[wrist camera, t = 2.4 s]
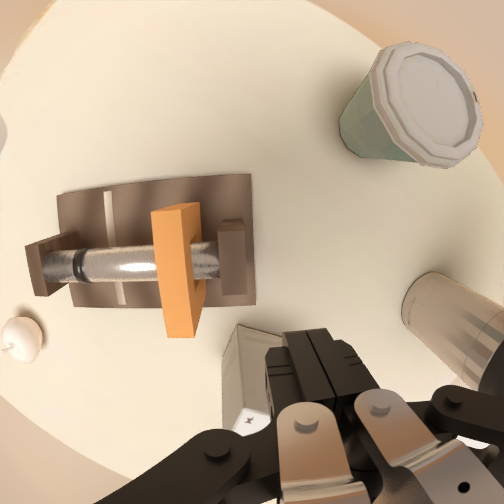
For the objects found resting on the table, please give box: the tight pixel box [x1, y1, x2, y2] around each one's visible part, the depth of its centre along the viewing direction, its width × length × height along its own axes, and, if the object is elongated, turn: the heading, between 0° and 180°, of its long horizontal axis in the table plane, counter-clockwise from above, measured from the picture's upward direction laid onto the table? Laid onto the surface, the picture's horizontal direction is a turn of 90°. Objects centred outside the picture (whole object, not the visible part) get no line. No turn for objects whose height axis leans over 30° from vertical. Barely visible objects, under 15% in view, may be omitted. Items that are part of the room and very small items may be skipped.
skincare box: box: [222, 325, 282, 436], centre depth 26 cm, size 8×6×15 cm
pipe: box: [42, 241, 221, 283], centre depth 22 cm, size 21×3×3 cm, turn 92°
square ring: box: [151, 202, 206, 338], centre depth 22 cm, size 2×9×9 cm, turn 2°
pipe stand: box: [25, 174, 256, 308], centre depth 25 cm, size 23×14×10 cm, turn 92°
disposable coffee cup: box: [339, 41, 483, 169], centre depth 21 cm, size 11×11×15 cm
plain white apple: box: [1, 317, 42, 363], centre depth 28 cm, size 7×7×8 cm
